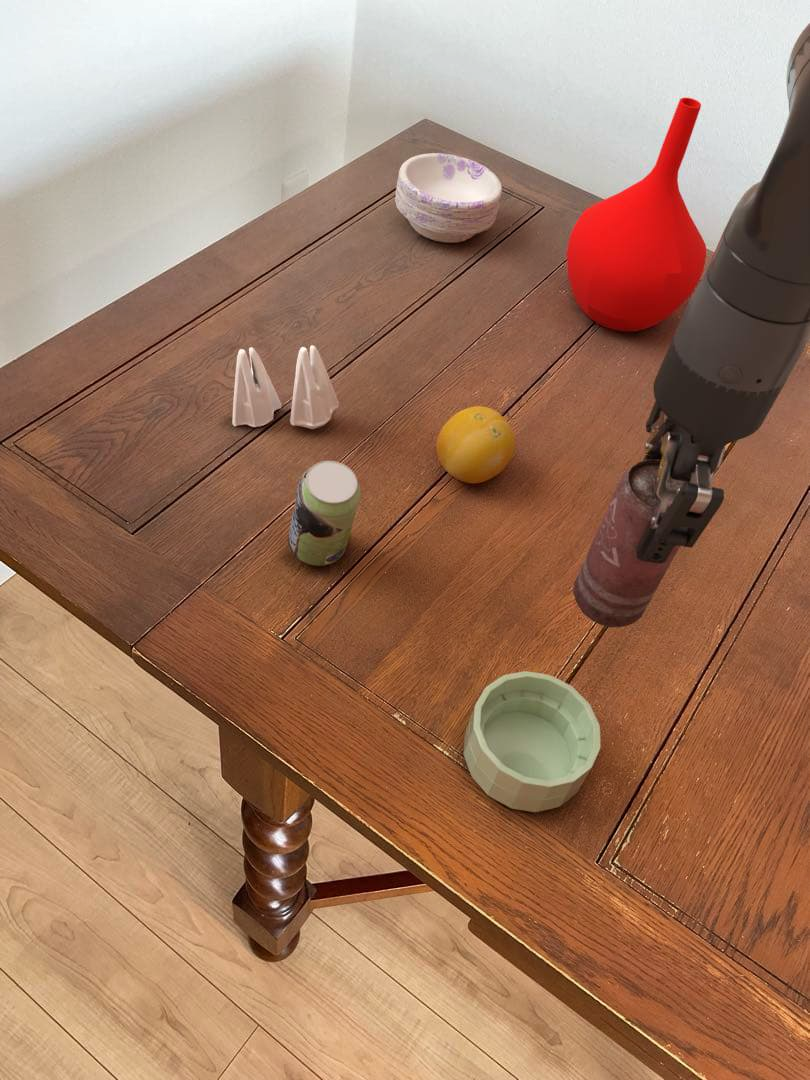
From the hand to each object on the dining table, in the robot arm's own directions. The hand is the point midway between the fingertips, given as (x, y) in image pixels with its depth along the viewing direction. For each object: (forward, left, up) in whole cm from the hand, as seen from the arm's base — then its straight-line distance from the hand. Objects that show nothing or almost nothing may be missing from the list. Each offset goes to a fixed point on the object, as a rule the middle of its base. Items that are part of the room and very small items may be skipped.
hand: (646, 524), depth 73 cm
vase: (-9, -67, -26) cm, 72 cm away
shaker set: (+32, -33, -26) cm, 53 cm away
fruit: (+10, -30, -26) cm, 41 cm away
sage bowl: (+3, +6, -26) cm, 27 cm away
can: (0, 0, -10) cm, 10 cm away
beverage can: (+25, -14, -26) cm, 39 cm away
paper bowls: (+17, -81, -26) cm, 86 cm away
